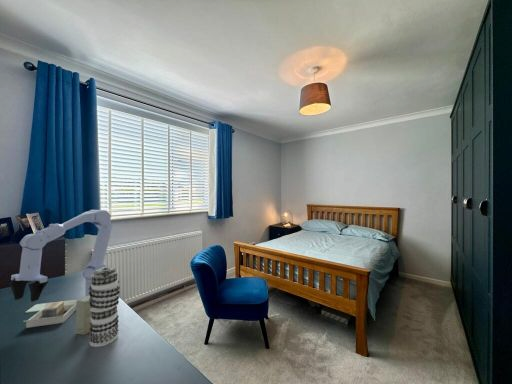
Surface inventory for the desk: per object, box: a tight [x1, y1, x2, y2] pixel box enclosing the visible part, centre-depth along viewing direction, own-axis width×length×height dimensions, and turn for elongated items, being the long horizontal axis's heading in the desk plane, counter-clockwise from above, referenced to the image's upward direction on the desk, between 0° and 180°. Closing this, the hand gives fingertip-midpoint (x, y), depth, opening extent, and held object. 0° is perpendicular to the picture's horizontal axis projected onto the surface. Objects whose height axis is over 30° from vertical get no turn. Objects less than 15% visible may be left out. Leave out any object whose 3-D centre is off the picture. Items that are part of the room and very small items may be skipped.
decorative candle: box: [88, 266, 121, 348], centre depth 78 cm, size 9×9×25 cm
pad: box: [24, 302, 48, 314], centre depth 99 cm, size 7×7×1 cm
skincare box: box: [75, 295, 92, 336], centre depth 83 cm, size 6×4×12 cm
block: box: [41, 300, 65, 318], centre depth 91 cm, size 4×7×5 cm, turn 17°
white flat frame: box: [22, 298, 80, 329], centre depth 91 cm, size 12×14×4 cm
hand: (26, 299), depth 85 cm, fingers open, 7 cm apart
